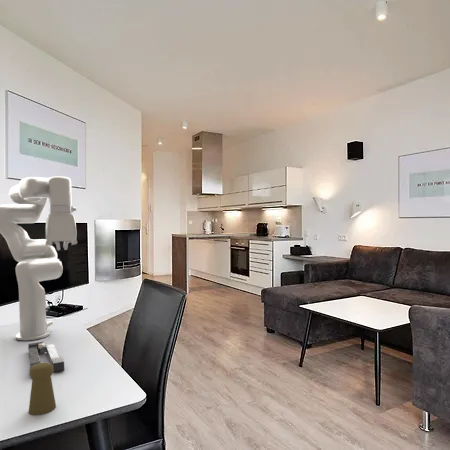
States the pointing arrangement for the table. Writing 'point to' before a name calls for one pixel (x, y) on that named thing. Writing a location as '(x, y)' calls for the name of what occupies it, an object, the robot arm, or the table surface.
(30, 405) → the cork
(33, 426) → the table surface
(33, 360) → the tong base
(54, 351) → the tong arm
